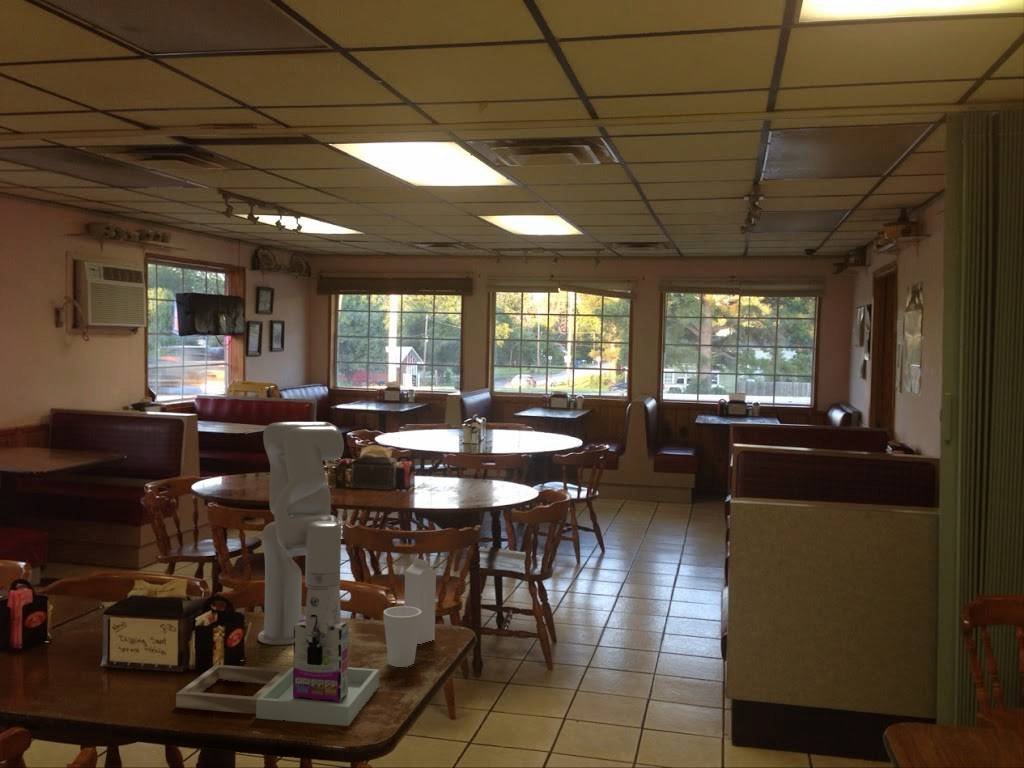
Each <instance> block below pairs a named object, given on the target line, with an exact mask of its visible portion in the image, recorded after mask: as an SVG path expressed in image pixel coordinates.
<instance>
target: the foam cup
mask: <svg viewBox="0 0 1024 768" xmlns="http://www.w3.org/2000/svg"><path fill="white" fill-rule="evenodd" d="M382 617H383V618H382V619H383V625H384V633H385V644H386V652H387V662H388V665H389V664H390V665H392V666H395V667H406V666H407V667H406V668H409V667H408V666H410V665H412V664H414V665H415V659H416V652H417V646H418V645H417V641H418V634H419V627H420V623H421V610H420V609H418V608H414V607H407V606H404V605H401V606H393V607H392V606H391V607H388V608H386V609H384V610H383V616H382ZM390 665H389V666H390ZM392 666H391V667H392ZM412 666H413V665H412ZM395 667H394V668H395ZM410 667H411V666H410Z"/></svg>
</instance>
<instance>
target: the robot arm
mask: <svg viewBox="0 0 1024 768" xmlns="http://www.w3.org/2000/svg"><path fill="white" fill-rule="evenodd" d="M262 436H263V437H262V438H263V446H264V450H265V452H266V456H267V458H268V461H269V466H270V468H269V469H270V475H269V509H270V512H271V514H272V515H274V516H273V518H274V521H272V522H270V523H268V524H267V525H265V526H264V528H263V530H262V534H261V535H262V536H261V540H262V547H263V554H264V618H263V619H264V622H263V623H264V625H263V628H264V629H263V630H262V631H260V632H259V633H258V636H257V640H258V641H259V642H261V643H262V644H265V645H270V646H271V645H272V646H284V645H285V646H286V645H294V625H295V624H296V623H298V622H299V621H301V620H302V619H304V616H303V614H302V589H303V588H302V586H303V584H302V582H303V579H302V577H303V574H302V570H301V568H300V566H299V565H298V564H297V562H295V560H294V559H293V557H298V556H305V569H304V570H305V571H304V573H305V574H304V577H305V578H304V579H305V580H304V583H305V584H304V586H305V587H306V588H307V593H306V603H305V619H306V620H305V625H306V638H307V639H306V640H307V664H309V665H321V664H322V648H323V646H321V642H322V636H323V633H324V635H327V634H328V633H329V632H331V627H332V626H333V625H334V624H335V623H337V622H341V618H342V617H341V616H342V615H341V591H340V590H341V589H340V586H341V557H342V556H341V554H342V551H341V550H342V524H341V523H342V522H341V521H339V519H338V517H336V516H335V515H332V514H331V511H332V510H331V509H332V505H331V504H332V500H331V499H332V497H331V495H332V494H331V491H330V487H329V485H328V483H327V482H326V473H325V469H324V463H323V461H336V460H340V459H341V458H342V456H343V453H344V450H345V443H344V438H343V434H342V432H341V431H340V429H339V427H337V426H336V425H334V424H333V423H330V422H328V421H281V422H279V421H277V422H272V423H269V424H268V425H266V427H265V428H264V430H263V435H262ZM314 630H320V632H315V631H314ZM314 635H318V641H317V639H316V637H314Z"/></svg>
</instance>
